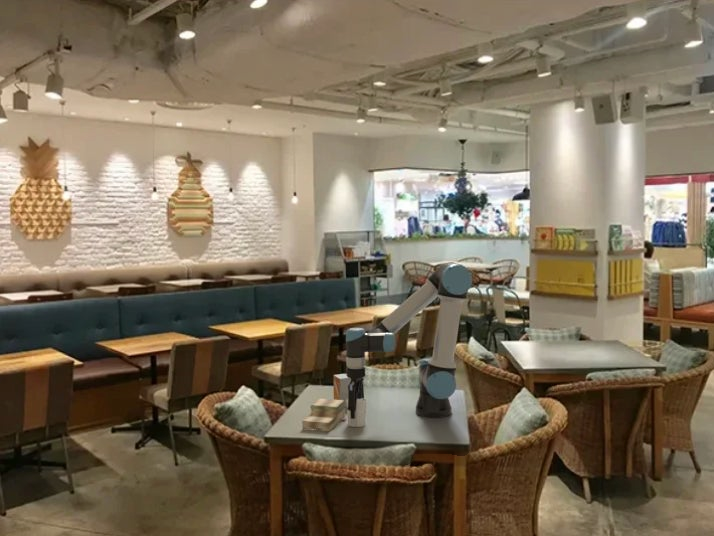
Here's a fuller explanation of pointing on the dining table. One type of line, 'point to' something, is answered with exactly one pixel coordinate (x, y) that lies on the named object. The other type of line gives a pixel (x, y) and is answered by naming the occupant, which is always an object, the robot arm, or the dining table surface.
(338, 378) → the small box
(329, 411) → the riser
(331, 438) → the dining table surface
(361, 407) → the white cup
